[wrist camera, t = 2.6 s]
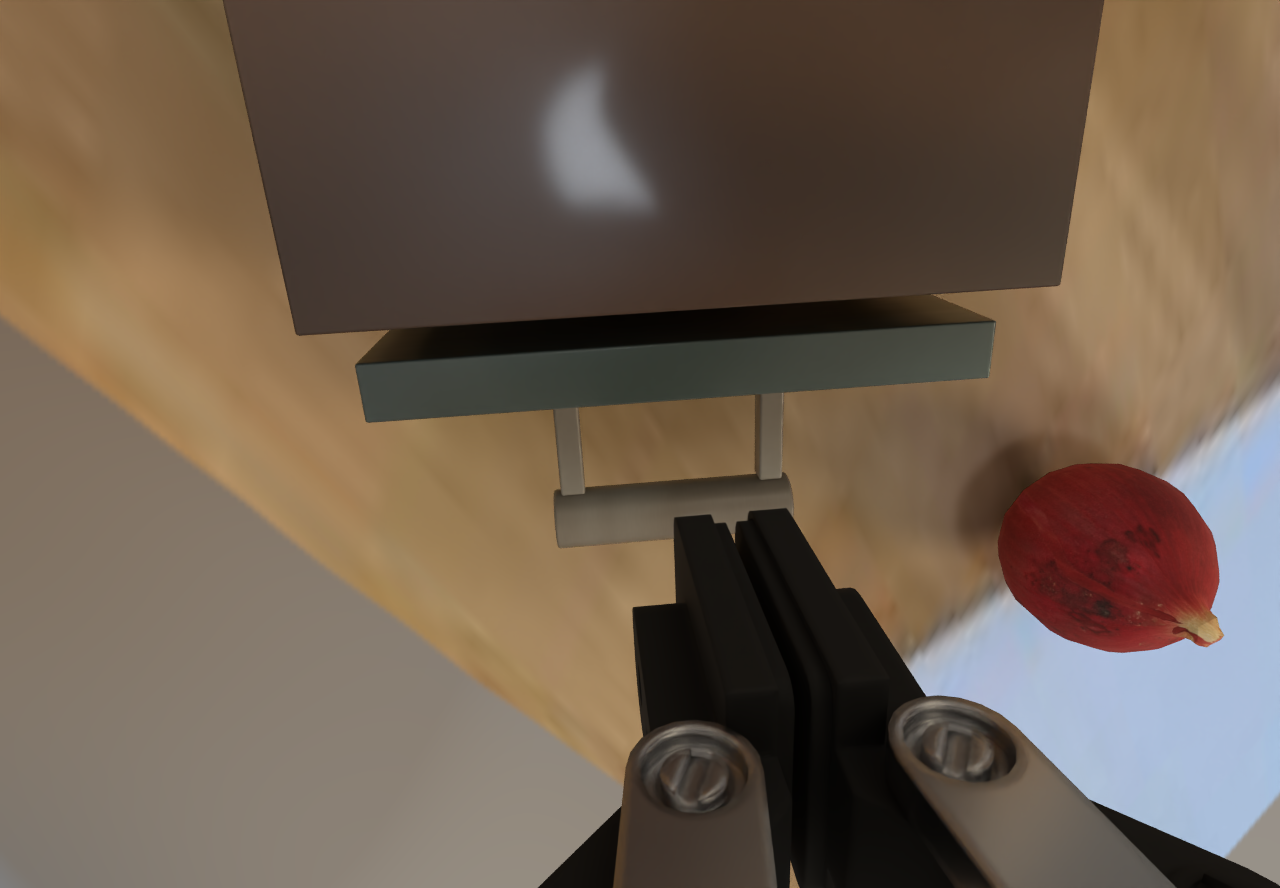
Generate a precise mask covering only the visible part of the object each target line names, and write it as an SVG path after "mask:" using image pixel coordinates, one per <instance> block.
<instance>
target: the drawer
mask: <svg viewBox="0 0 1280 888" xmlns="http://www.w3.org/2000/svg"><path fill="white" fill-rule="evenodd" d="M995 327H996V321H994V320H992V319H989V318H987V317H985V316H982V315H980V314H977V313H975V312H972V311H970V310H967V309H965V308H963V307H960V306H958V305H955V304H953V303H950V302H948V301H945V300H943V299H940V298H938V297H936V296H933V295H931V294H928V295H913V296H898V297H882V298H867V299H852V300H837V301H821V302H806V303H791V304H775V305H760V306H745V307H730V308H714V309H699V310H684V311H668V312H653V313H638V314H623V315H607V316H592V317H577V318H561V319H546V320H531V321H516V322H500V323H485V324H470V325H454V326H439V327H424V328H409V329H393V330H389V331H388V332H387V333H386V334H385V335H384V336H383V337H382V338H381V339H380V340H379V341H378V342H377V343H376V344H375V345H374V346H373V347H372V348H371V349H370V350H369V351H368V352H367V353H366V354H365V355H364V356H363V357H362V358H361V359H360V360H359V361H358V362H357V363H356V365H355V368H356V374H357V379H358V384H359V389H360V394H361V399H362V405H363V410H364V415H365V420H366V422H368V423H371V422H385V421H399V420H413V419H427V418H440V417H454V416H468V415H482V414H495V413H509V412H523V411H537V410H551V409H553V414H554V424H555V435H556V445H557V455H558V466H559V476H560V487H561V489H557V490H555V491H554V517H555V530H556V539H557V545H558V547H559V548H570V547H582V546H594V545H605V544H617V543H629V542H641V541H653V540H665V539H674V526H673V525H674V517H683V516H695V515H707V514H711V516H712V518H713V520H714V523H726V524H727V526H728V529H729V531H730V533H731V534H735V526H736V522H737V521H747V518H748V513H749V511H755V510H767V509H780V508H787V509H788V510H789V512H790V514H791V515H792V517H793V516H794V503H793V494H792V488H791V484H790V481H789V479H788V477H787V475H786V474H785V473H784V472H782V453H783V409H784V393H785V392H799V391H812V390H826V389H840V388H854V387H867V386H881V385H895V384H909V383H923V382H936V381H950V380H964V379H978V378H988V377H989V374H990V366H991V358H992V350H993V342H994V334H995ZM743 395H755V472H756V474H747V475H735V476H722V477H709V478H697V479H684V480H671V481H659V482H646V483H633V484H621V485H608V486H595V487H585V479H584V467H583V455H582V443H581V431H580V419H579V407H592V406H606V405H619V404H633V403H647V402H661V401H675V400H688V399H702V398H716V397H730V396H743Z"/></svg>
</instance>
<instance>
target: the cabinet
mask: <svg viewBox="0 0 1280 888" xmlns="http://www.w3.org/2000/svg"><path fill="white" fill-rule="evenodd" d="M223 4H224V8H225V13H226V18H227V22H228V27H229V31H230V36H231V40H232V45H233V50H234V54H235V59H236V63H237V68H238V72H239V77H240V81H241V86H242V91H243V95H244V100H245V104H246V109H247V113H248V118H249V122H250V127H251V132H252V136H253V141H254V145H255V150H256V154H257V159H258V163H259V168H260V173H261V177H262V182H263V186H264V191H265V195H266V200H267V204H268V209H269V214H270V218H271V223H272V227H273V232H274V236H275V241H276V245H277V250H278V255H279V259H280V264H281V268H282V273H283V277H284V282H285V286H286V291H287V296H288V300H289V305H290V309H291V314H292V318H293V323H294V327H295V332H296V334H297V335H299V336H302V335H317V334H332V333H348V332H363V331H378V330H393V329H409V328H424V327H439V326H454V325H470V324H485V323H500V322H516V321H531V320H546V319H561V318H577V317H592V316H607V315H623V314H638V313H653V312H668V311H684V310H699V309H714V308H730V307H745V306H760V305H775V304H791V303H806V302H821V301H837V300H852V299H867V298H882V297H898V296H913V295H928V294H944V293H959V292H974V291H989V290H1005V289H1020V288H1035V287H1051V286H1058V285H1060V282H1061V276H1062V270H1063V263H1064V257H1065V250H1066V244H1067V237H1068V231H1069V224H1070V218H1071V212H1072V205H1073V199H1074V192H1075V186H1076V179H1077V173H1078V166H1079V160H1080V153H1081V147H1082V141H1083V134H1084V128H1085V121H1086V115H1087V108H1088V102H1089V95H1090V89H1091V83H1092V76H1093V70H1094V63H1095V57H1096V50H1097V44H1098V37H1099V31H1100V24H1101V18H1102V12H1103V5H1104V0H223Z"/></svg>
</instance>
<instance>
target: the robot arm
mask: <svg viewBox="0 0 1280 888" xmlns="http://www.w3.org/2000/svg"><path fill="white" fill-rule="evenodd" d="M673 526H674V557H675V585H676V603H675V604H664V605H652V606H641V607H633V631H634V647H635V662H636V675H637V686H638V697H639V706H640V715H641V723H642V731H643V738H641V739H640V741H639V742H638V743H637V744H636V746H635V747H634V748H633V750H632V751H631V752H630V756H629V759H628V762H627V765H626V770H625V779H624V789H623V798H622V806H621V807H620V808H619V809H618V810H617V811H616V812H615V813H614V814H613V815H612V816H611V817H610V818H609V819H608V820H607V821H606V822H605V823H604V824H603V825H602V826H601V827H600V828H599V829H597V830H596V832H595V833H593V834H592V835H591V836H590V837H589V838H588V839H587V840H586V841H585V842H584V844H582V845H581V846H580V847H579V848H578V849H577V850H576V851H575V852H574V853H573V854H572V855H571V856H570V857H569V858H568V859H567V860H566V861H565V862H564V863H563V864H562V865H561V866H560V867H559V868H558V869H557V870H555V872H554V873H552V874H551V875H550V876H549V877H548V878H547V879H546V880H545V881H544V882H543V883H542V884H541V885H540V886H539V887H538V888H789V886H790V860H791V863H792V867H793V870H794V873H795V876H796V879H797V882H798V885H799V887H800V888H1280V886H1279V885H1278V884H1276V883H1274V882H1272V881H1270V880H1269V879H1267V878H1265V877H1263V876H1261V875H1259V874H1257V873H1255V872H1253V871H1252V870H1249V869H1248V868H1245V867H1243V866H1241V865H1239V864H1236V863H1234V862H1232V861H1229V860H1227V859H1225V858H1223V857H1220V856H1218V855H1216V854H1213V853H1211V852H1209V851H1206V850H1204V849H1202V848H1200V847H1197V846H1195V845H1193V844H1190V843H1188V842H1186V841H1183V840H1181V839H1179V838H1177V837H1174V836H1172V835H1170V834H1167V833H1165V832H1163V831H1160V830H1158V829H1156V828H1154V827H1151V826H1149V825H1147V824H1144V823H1142V822H1140V821H1137V820H1135V819H1133V818H1131V817H1128V816H1126V815H1124V814H1121V813H1119V812H1117V811H1114V810H1112V809H1110V808H1107V807H1105V806H1103V805H1101V804H1098V803H1096V802H1094V801H1091V800H1089V799H1088V798H1087V797H1086V796H1085V795H1084V794H1083V793H1082V792H1081V791H1080V790H1079V789H1078V788H1077V787H1076V786H1075V785H1074V784H1073V783H1072V782H1071V781H1070V780H1069V779H1068V778H1067V777H1066V776H1065V775H1064V774H1063V773H1062V772H1061V771H1060V770H1059V769H1058V768H1057V767H1056V766H1055V765H1054V764H1053V763H1052V762H1051V761H1050V760H1049V759H1048V758H1047V757H1046V756H1045V755H1044V754H1043V753H1042V752H1041V751H1040V750H1039V749H1038V748H1037V747H1036V746H1035V745H1034V744H1033V743H1032V742H1031V741H1030V740H1029V739H1028V738H1027V737H1026V736H1025V735H1024V734H1023V733H1022V732H1021V731H1020V730H1019V729H1018V728H1017V727H1016V726H1015V725H1013V724H1012V723H1011V722H1010V721H1008V720H1007V719H1006V718H1005V717H1003V716H1002V715H1001V714H999V713H997V712H995V711H993V710H991V709H989V708H987V707H985V706H983V705H981V704H978V703H975V702H972V701H969V700H965V699H962V698H956V697H948V696H928V697H926V695H925V694H924V692H923V691H922V689H921V688H920V686H919V685H918V683H917V682H916V680H915V679H914V677H913V675H912V674H911V672H910V671H909V669H908V668H907V666H906V665H905V663H904V662H903V660H902V659H901V657H900V655H899V654H898V652H897V651H896V649H895V648H894V646H893V645H892V643H891V642H890V640H889V638H888V637H887V635H886V634H885V632H884V631H883V629H882V628H881V626H880V625H879V623H878V622H877V620H876V618H875V617H874V615H873V614H872V612H871V611H870V609H869V608H868V606H867V605H866V603H865V602H864V600H863V598H862V597H861V595H860V594H859V593H858V592H857V591H856V590H855V589H853V588H842V589H836V588H835V587H834V585H833V583H832V582H831V580H830V578H829V577H828V575H827V573H826V572H825V570H824V568H823V567H822V565H821V563H820V562H819V560H818V558H817V557H816V555H815V553H814V552H813V550H812V548H811V547H810V545H809V543H808V542H807V540H806V538H805V537H804V535H803V534H802V532H801V530H800V529H799V527H798V525H797V524H796V522H795V520H794V519H793V517H792V515H791V514H790V512H789V510H788V509H787V508H780V509H767V510H755V511H749V513H748V518H747V521H737V522H736V526H735V543H734V541H733V538H732V536H731V533H730V531H729V529H728V526H727V524H726V523H714V520H713V518H712V516H711V514H707V515H695V516H683V517H674V525H673Z"/></svg>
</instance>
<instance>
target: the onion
mask: <svg viewBox="0 0 1280 888" xmlns="http://www.w3.org/2000/svg"><path fill="white" fill-rule="evenodd" d="M998 554H999V559H1000V563H1001V567H1002V570H1003V574H1004V578H1005V581H1006V584H1007V585H1008V587H1009V589H1010V591H1011V592H1012V594H1013V596H1014V598H1015V599H1016V600H1017V601H1018V602H1019V603H1020V604H1021V605H1022V606H1023V607H1025V608H1026V609H1027V610H1028V611H1029V612H1030V613H1031V614H1032V615H1033V616H1035V617H1036V618H1037V619H1038V620H1039V621H1040V622H1041V623H1042V624H1043V625H1045V626H1046V627H1047V628H1048V629H1049V630H1050V631H1052V632H1054V633H1056V634H1057V635H1059V636H1061V637H1063V638H1065V639H1067V640H1070V641H1073V642H1077V643H1080V644H1083V645H1086V646H1089V647H1093V648H1096V649H1100V650H1104V651H1107V652H1120V653H1125V652H1135V651H1146V650H1153V649H1159V648H1162V647H1165V646H1167V645H1170V644H1172V643H1175V642H1178V641H1180V640H1182V639H1184V638H1187V639H1189V640H1191V641H1193V642H1194V643H1195V644H1197V645H1199V646H1204V647H1208V646H1209V645H1211V644H1213V643H1215V642H1217V641H1219V640H1220V639H1221V638H1222V637H1223V636H1224V634H1223V633H1222V631H1221V629H1220V628H1219V624H1218V620H1217V617H1216V616H1215V615H1213V614H1212V612H1211V611H1210V609H1211V608H1212V605H1213V602H1214V598H1215V595H1216V592H1217V589H1218V585H1219V567H1218V560H1217V552H1216V545H1215V542H1214V538H1213V535H1212V532H1211V531H1210V529H1209V528H1208V526H1207V525H1206V523H1205V522H1204V520H1203V519H1202V517H1201V516H1200V514H1199V513H1198V511H1197V510H1196V508H1195V507H1194V506H1193V505H1192V503H1191V502H1190V501H1189V500H1188V498H1187V497H1186V496H1185V494H1184V493H1182V492H1181V491H1179V490H1178V489H1177V488H1175V487H1174V486H1172V485H1171V484H1169V483H1168V482H1167V481H1164V480H1162V479H1160V478H1157V477H1155V476H1153V475H1150V474H1148V473H1146V472H1143V471H1141V470H1138V469H1135V468H1131V467H1128V466H1125V465H1121V464H1075V465H1072V466H1069V467H1066V468H1062V469H1059V470H1056V471H1053V472H1049V473H1048V474H1046V475H1045V476H1043V477H1042V478H1040V479H1039V480H1037V481H1036V482H1035V483H1033V484H1032V485H1030V486H1029V487H1027V488H1026V489H1024V490H1023V491H1022V493H1021V494H1020V495H1019V497H1018V498H1017V499H1016V500H1015V502H1014V503H1013V504H1012V506H1011V507H1010V508H1009V509H1008V511H1007V512H1006V513H1005V515H1004V519H1003V523H1002V527H1001V531H1000V535H999V539H998Z"/></svg>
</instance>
